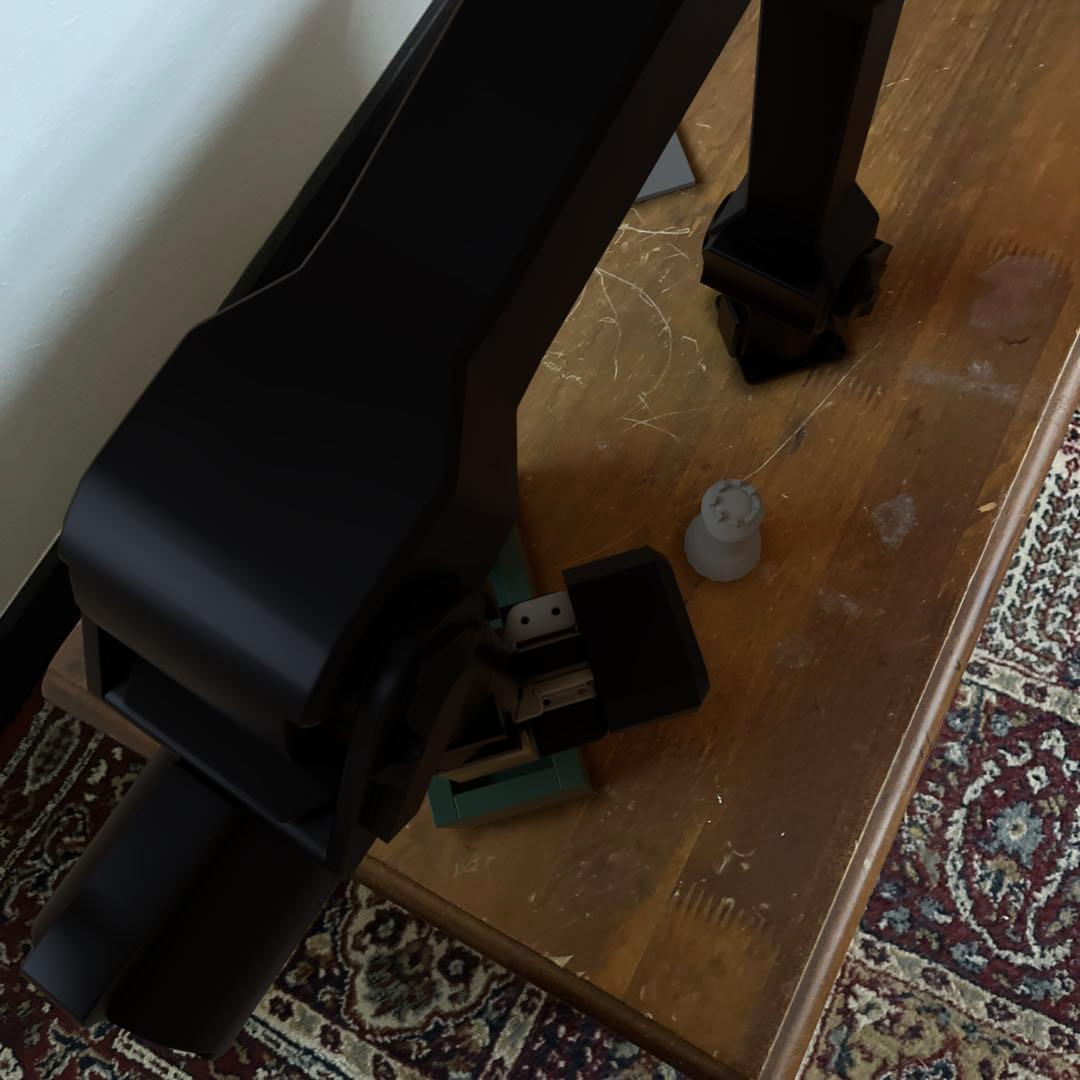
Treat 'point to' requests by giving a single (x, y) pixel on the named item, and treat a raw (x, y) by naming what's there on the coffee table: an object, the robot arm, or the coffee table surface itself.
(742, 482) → the rook chess piece
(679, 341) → the coffee table surface
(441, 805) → the rack
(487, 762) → the maple peg
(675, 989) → the coffee table surface
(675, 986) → the coffee table surface
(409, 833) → the coffee table surface
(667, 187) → the mat
